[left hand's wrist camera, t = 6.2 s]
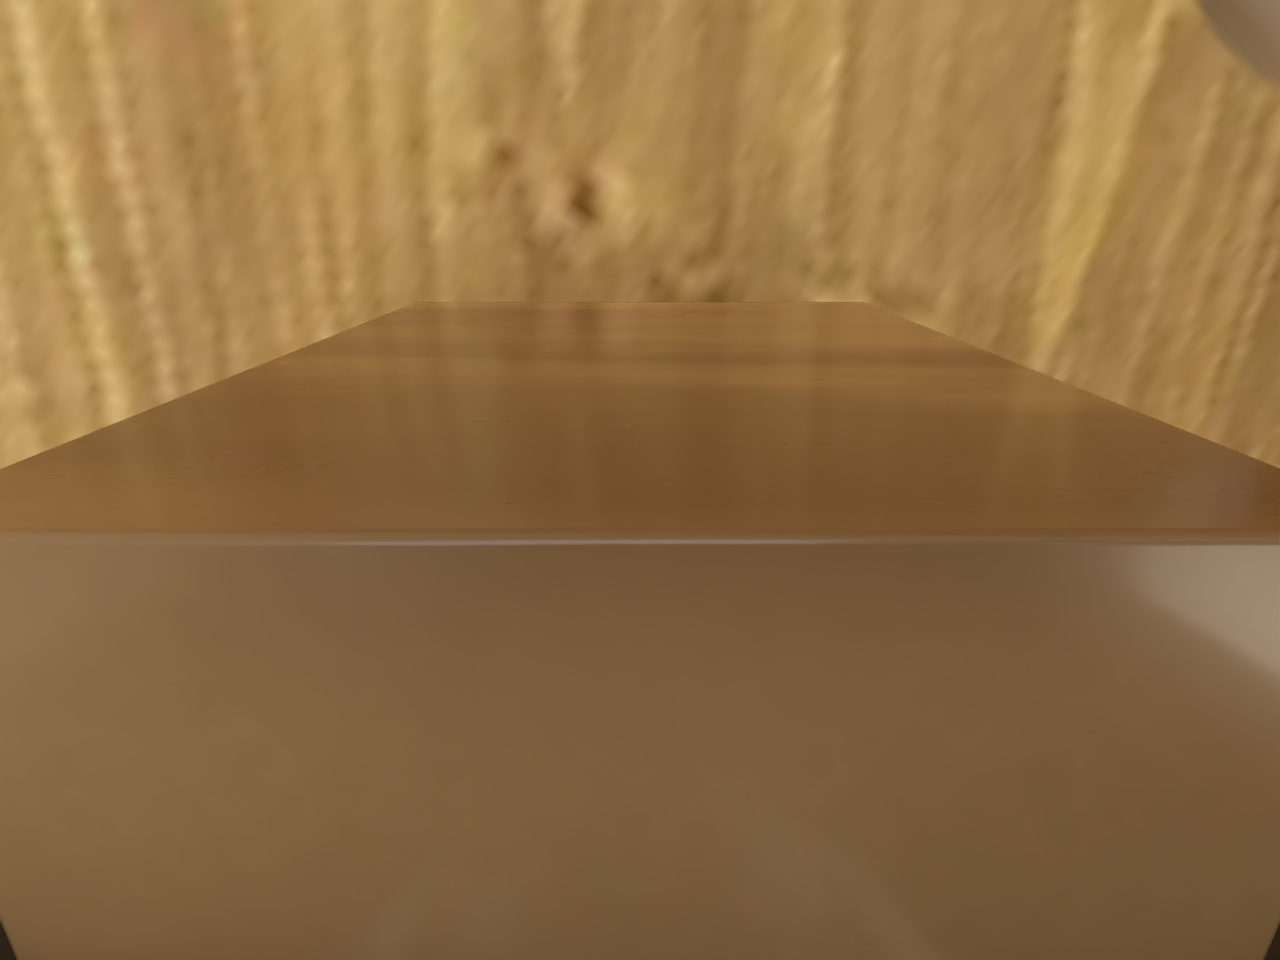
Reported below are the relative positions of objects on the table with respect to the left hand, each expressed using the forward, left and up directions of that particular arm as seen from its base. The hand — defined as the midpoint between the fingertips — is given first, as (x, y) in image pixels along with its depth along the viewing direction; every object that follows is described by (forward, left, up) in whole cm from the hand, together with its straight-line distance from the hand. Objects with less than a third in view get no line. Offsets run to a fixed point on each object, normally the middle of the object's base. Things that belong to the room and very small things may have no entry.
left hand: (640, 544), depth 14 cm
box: (+2, +7, -1) cm, 8 cm away
